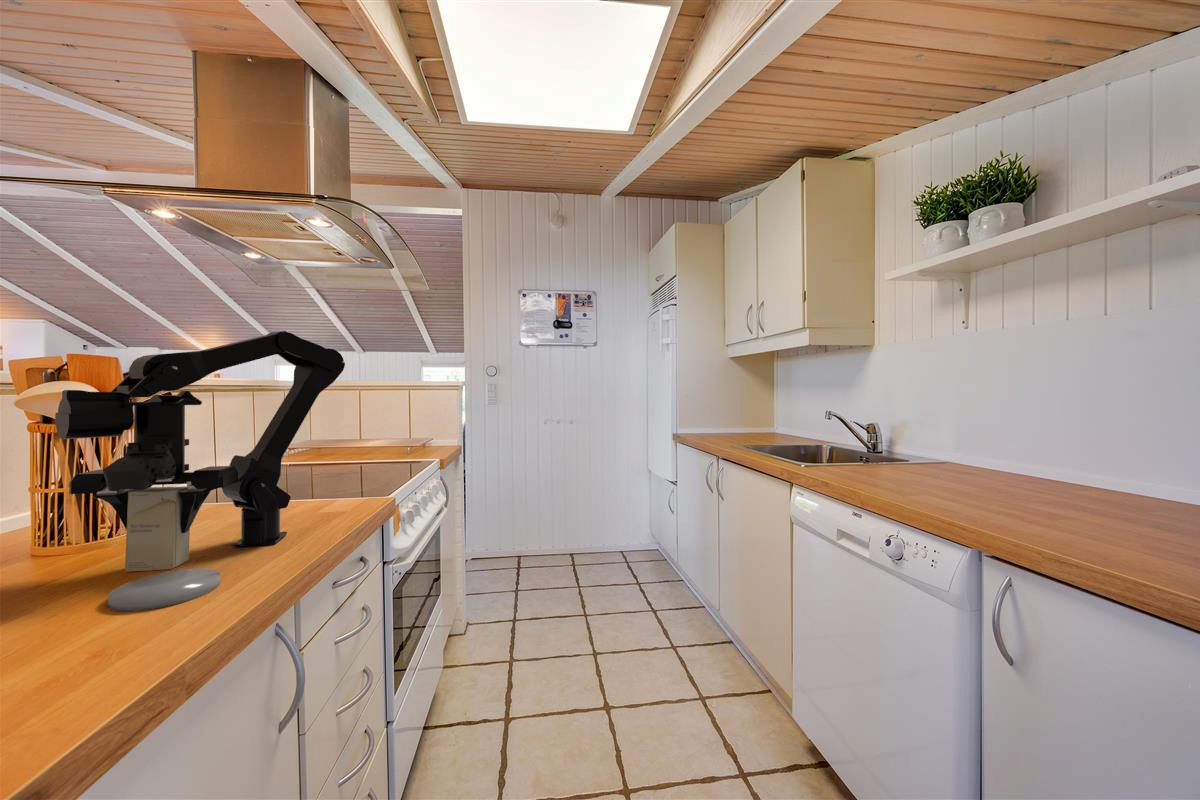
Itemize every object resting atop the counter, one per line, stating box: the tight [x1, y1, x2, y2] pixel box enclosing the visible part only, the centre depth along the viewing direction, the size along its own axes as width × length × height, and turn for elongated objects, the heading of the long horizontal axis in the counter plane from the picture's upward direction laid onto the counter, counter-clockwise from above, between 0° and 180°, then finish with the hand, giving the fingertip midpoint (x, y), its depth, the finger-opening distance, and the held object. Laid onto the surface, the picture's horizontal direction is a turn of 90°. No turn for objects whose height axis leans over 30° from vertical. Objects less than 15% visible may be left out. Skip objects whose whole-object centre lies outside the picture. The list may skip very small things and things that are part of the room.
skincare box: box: [124, 485, 191, 573], centre depth 71 cm, size 6×4×12 cm
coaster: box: [107, 567, 221, 612], centre depth 62 cm, size 11×11×1 cm
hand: (159, 534), depth 71 cm, fingers closed on skincare box, 6 cm apart
